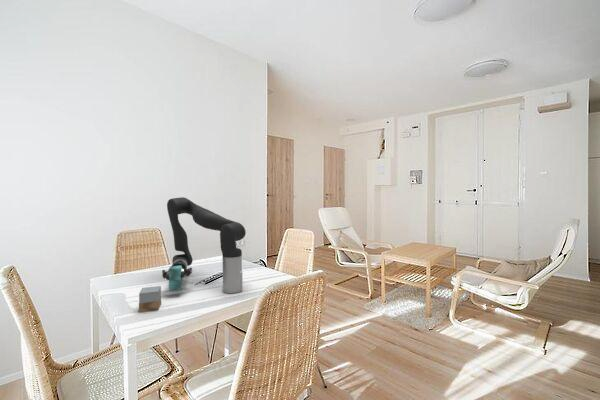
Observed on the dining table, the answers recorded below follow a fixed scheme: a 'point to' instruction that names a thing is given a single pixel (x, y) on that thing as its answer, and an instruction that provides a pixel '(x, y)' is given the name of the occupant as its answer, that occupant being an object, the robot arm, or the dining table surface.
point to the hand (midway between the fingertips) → (174, 277)
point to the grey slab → (150, 294)
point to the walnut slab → (149, 306)
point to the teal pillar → (175, 278)
